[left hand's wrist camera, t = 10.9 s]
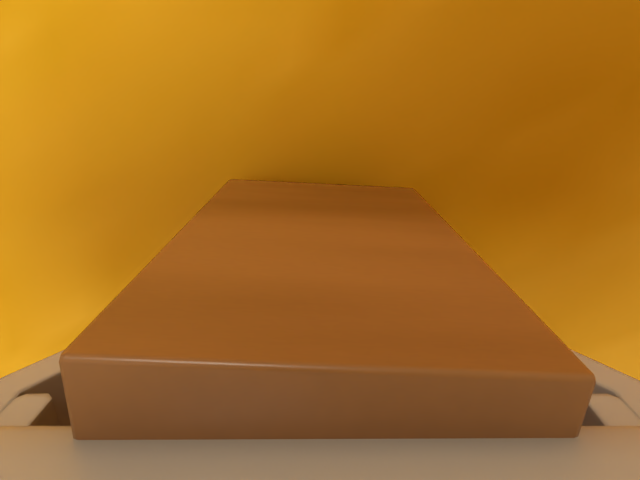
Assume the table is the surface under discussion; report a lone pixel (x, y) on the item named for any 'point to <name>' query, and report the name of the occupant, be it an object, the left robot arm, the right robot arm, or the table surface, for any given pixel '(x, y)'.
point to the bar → (320, 331)
